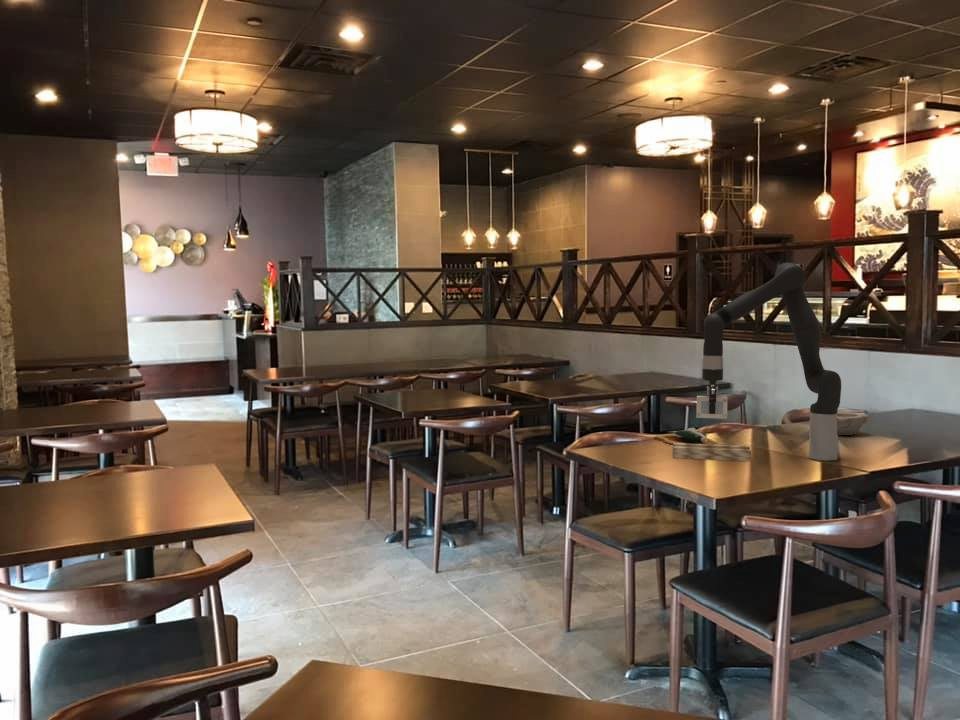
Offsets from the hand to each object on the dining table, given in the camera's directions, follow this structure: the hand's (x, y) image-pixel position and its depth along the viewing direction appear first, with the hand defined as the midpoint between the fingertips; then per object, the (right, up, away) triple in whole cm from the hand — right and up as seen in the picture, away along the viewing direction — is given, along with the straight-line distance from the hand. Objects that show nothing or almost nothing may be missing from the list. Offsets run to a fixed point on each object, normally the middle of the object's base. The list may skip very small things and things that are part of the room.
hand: (711, 412), depth 282 cm
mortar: (+72, -13, +47) cm, 87 cm away
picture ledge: (0, -17, +1) cm, 17 cm away
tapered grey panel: (0, -2, 0) cm, 2 cm away
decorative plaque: (-1, -15, +29) cm, 33 cm away
